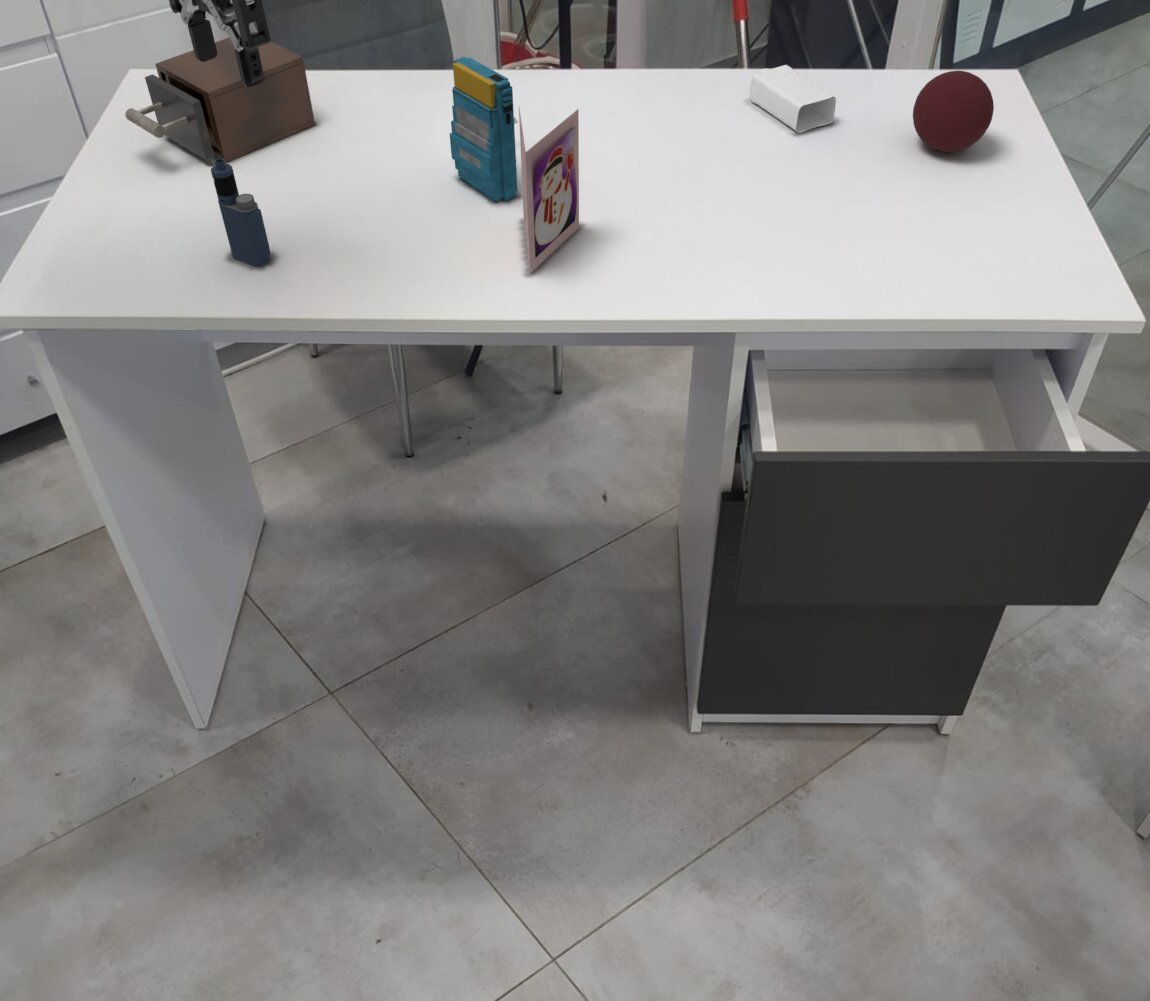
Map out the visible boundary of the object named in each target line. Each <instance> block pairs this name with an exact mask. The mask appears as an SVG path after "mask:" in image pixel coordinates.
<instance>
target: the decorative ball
mask: <svg viewBox="0 0 1150 1001" xmlns="http://www.w3.org/2000/svg"><path fill="white" fill-rule="evenodd" d="M912 108H913V109H912V121H913V126H914V129H915V133H916V134H917V136H918V137H919V139H920V140H921V141H922V142H923V143H924V144H925V145H927V146H928V147H929V148H931V149H933V150H936V151H939V152H944V153H954V152H960V151H963V150H964V149H967V148H970V147H971V146H973V145H974V144H976V143H977V142H979V141H980V139H981V138H982V137H984V135H985V134H986V132H987V130H988V129H989V127H990V126H991V123H992V120H993V116H994V109H995V106H994V98H993V95H992V91H991V90H990V88H989V86H988V84H986V82H985V81H984V80H983V79H981V78H980V76H978V75H976V74H974V73H972V72H968V71H965V70H951V71H946V72H943V73H940V74H939V75H936V76H935V77H933V78H931V80H929V81H928V82H927V83H925V85H924V86H923V88H921V89H920V91H919V93H918V94H917V96H916V99H915V102H914V105H913V107H912Z"/></svg>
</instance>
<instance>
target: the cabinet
mask: <svg viewBox="0 0 1150 1001" xmlns="http://www.w3.org/2000/svg"><path fill="white" fill-rule="evenodd" d="M238 34H239V36H240V37H241V35H240V33H238ZM215 45H216V49H217V56H216V57H215V58H213V59H211V60H208V61H205V62H201V61H199V60H197V59H196V57H195V53H194V49H193V50H190V51H186V52H184V53H182V54H179V55H176V56H173V57H171V58H167V59H165V60H162V61H159V62H156V63H155V68H156V71H157V75H158V76H157V77H158V78H160V79H162V80H164V81H165V82H167V80H166V77H165V74H166V75H168V76H170V77H172V78H173V79H175V80H177V81H179V82H181V83H182V84H184V85H186V86H188V87H190V88H191V89H193V90H195V91H197V92H199V93H201V94H202V95H204V96H206V98H207V102H208V106H209V110H210V114H211V117H212V121H213V125H214V129H215V133H216V137H217V141H218V145H219V149H220V150H219V149H217V148H215V147H214V146H212V149H213V153H214V157H215V158H217V159H224V161H225V164H227V163H229V162H231V161H234V160H236V159H238V158H241V157H243V156H245V155H248V154H250V153H253V152H255V151H257V150H260V149H262V148H264V147H267V146H270V145H271V144H273V143H277V142H278V141H281V140H284V139H286V138H289V137H291V136H293V135H295V134H297V133H300V132H302V131H305V130H307V129H310V128H311V127H314V126H316V121H315V115H314V110H313V105H312V100H311V94H310V89H309V83H308V78H307V77H308V76H307V72H306V67H305V63H304V62H305V61H304V57H303V56H302V55H300V54H297V53H295V52H294V51H292V50H290V49H287V48H285V47H284V46H281V45H279V44H277V43H275V42H273V41H270V43H268V44H265V45H262V46H259V48H258V50H259V55H260V60H261V64H262V69H263V74H264V81H263V82H262V83H260V84H258V85H255V86H253V87H247V86H245V85H243V84H242V81H241V76H240V72H239V67H238V63H237V59H236V54H235V50H236V49H235V47H234V45H233V43H232V41H231V39H230V38H229V37H227V38H223V39H221V40H218V41H215Z"/></svg>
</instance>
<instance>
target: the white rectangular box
mask: <svg viewBox="0 0 1150 1001" xmlns="http://www.w3.org/2000/svg"><path fill="white" fill-rule="evenodd" d="M749 100H750V101H751V102H752V103H753V104H756V105H758V106H759V107H760V108H762V109H763V110H765V111H766V112H768V113H769V114H770V115H772V116H774V117H775V118H776V119H778V120H779V121H780V122H782V123H784V124H785V125H786V126H788V127H789V128H791V130H794V131H795V132H796V133H797V134H802V133H803V132H807V131H810V130H813V129H815V128H818V127H823V126H826V125H830V124H832V123H833V122H834V119H835V114H836V105H837V98H836V96H833V95H832V94H830V93H829V92H827V91H826V90H824V89H823V88H822V87H820V86H819V85H817V84H815V83H814V82H813V81H811V80H809V79H808V78H806V77H805V76H803V75H802V74H801V73H799V72H798V71H796V70H795V69H793V68H792V67H791V66H789V64H784V65H780V66H777V67H773V68H766V67H765V68H762V69H760V70H759V71H758V72H755V73H753V74H752V75H751V80H750V88H749Z"/></svg>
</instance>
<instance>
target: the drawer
mask: <svg viewBox="0 0 1150 1001" xmlns="http://www.w3.org/2000/svg"><path fill="white" fill-rule="evenodd" d="M165 77H166V80H167V82H165V81H164V80H162V79H160V78H159V76H157V75H155V74H149V75H147V76H144V79H145V83H146V87H147V90H148V94H149V97H150V100H151V105H149V106H146V107H143V108H140V109H138V110H136V109H135V108H132V107H130V108H128V109H127V110H126V111H125V114H124V115H125V116H124V117H125V118H126V120H127V121H129V122H130V123H132V124H134V125H136V127H139V128H140V129H142V130H144V131H146V132H147V133H149V134H150V135H152V136H154V137H155V138H157V139H161V138H163V137H167V138H169V139H170V140H172V141H174V142H175V143H177V144H178V145H180V146H181V147H183V148H184V149H186V150H188V151H190V152H192V153H193V154H195V155H197V156H198V157H200V158H202V159H203V160H205V161H207V162H208V161H210V160H212V159H215V158H216V157H215V156H214V153H213V149H212V146H214V147H215V148H217V149H219V145H218V141H217V137H216V133H215V129H214V125H213V121H212V117H211V114H210V110H209V106H208V102H207V98H206V96H204V95H202V94H201V93H199V92H197V91H195V90H193V89H191V88H190V87H188V86H186V85H184V84H182V83H181V82H179V81H177V80H175V79H173V78H172V77H170V76H168V75H166V74H165ZM152 112H154V114H155V118H156V121H155V120H153V119H151V118H150V117H148V116H147V114H150V113H152ZM219 150H220V149H219Z"/></svg>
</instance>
